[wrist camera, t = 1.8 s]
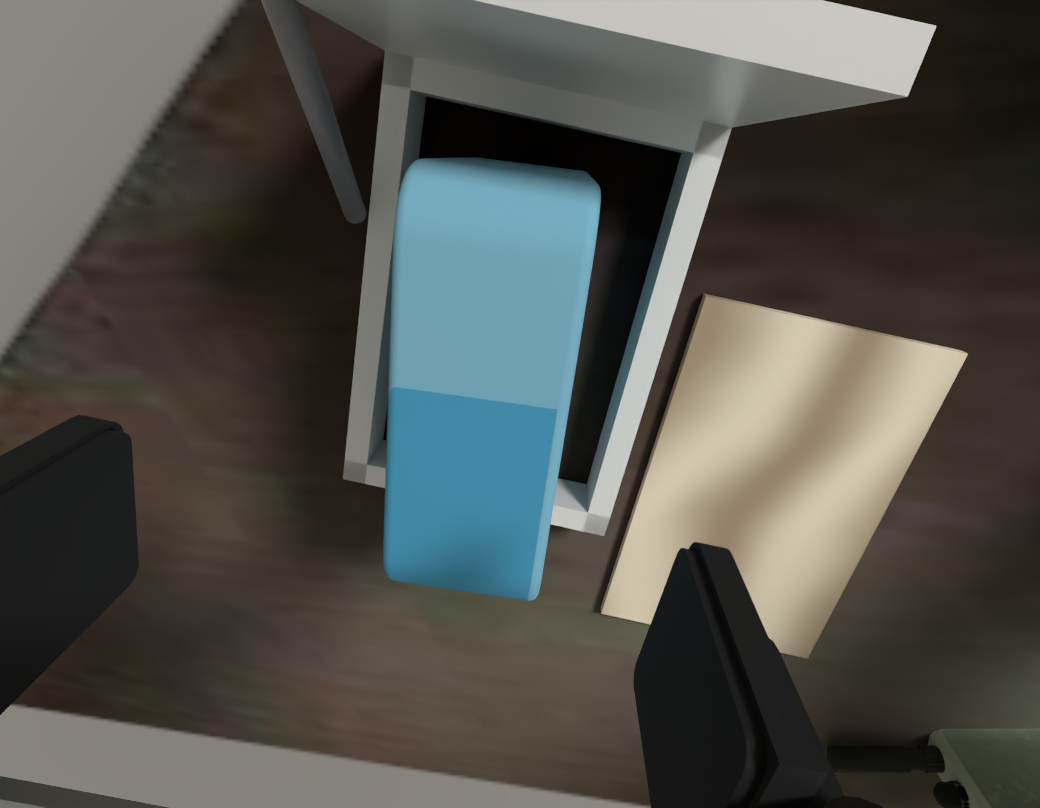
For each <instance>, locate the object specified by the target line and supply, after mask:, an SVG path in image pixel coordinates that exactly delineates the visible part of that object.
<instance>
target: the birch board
mask: <svg viewBox="0 0 1040 808" xmlns="http://www.w3.org/2000/svg"><path fill="white" fill-rule="evenodd" d="M967 355H968V354H967V353H965V352H963V351H961V350H957V349H953V348H948V347H944V346H939V345H934V344H930V343H925V342H921V341H916V340H912V339H907V338H903V337H898V336H894V335H889V334H885V333H880V332H876V331H871V330H866V329H862V328H857V327H853V326H848V325H844V324H839V323H835V322H830V321H826V320H821V319H817V318H812V317H807V316H803V315H798V314H794V313H789V312H785V311H780V310H776V309H771V308H767V307H762V306H758V305H753V304H749V303H744V302H739V301H735V300H730V299H726V298H721V297H717V296H712V295H708V294H703V297H702V300H701V303H700V306H699V309H698V312H697V315H696V318H695V321H694V324H693V327H692V330H691V333H690V336H689V339H688V342H687V345H686V349H685V352H684V355H683V358H682V361H681V364H680V367H679V370H678V373H677V376H676V379H675V382H674V385H673V388H672V391H671V394H670V397H669V400H668V403H667V406H666V409H665V413H664V416H663V419H662V422H661V425H660V428H659V431H658V434H657V437H656V440H655V443H654V446H653V449H652V452H651V455H650V458H649V461H648V464H647V467H646V470H645V473H644V477H643V480H642V483H641V486H640V489H639V492H638V495H637V498H636V501H635V504H634V507H633V510H632V513H631V516H630V519H629V522H628V525H627V528H626V531H625V534H624V538H623V541H622V544H621V547H620V550H619V553H618V556H617V559H616V562H615V565H614V568H613V571H612V574H611V577H610V580H609V583H608V586H607V589H606V592H605V595H604V598H603V602H602V605H601V614H605V615H610V616H614V617H619V618H623V619H628V620H633V621H637V622H642V623H646V624H651V622H652V619H653V617H654V614H655V611H656V609H657V606H658V603H659V601H660V598H661V595H662V593H663V590H664V587H665V585H666V582H667V579H668V576H669V574H670V571H671V568H672V566H673V563H674V560H675V558H676V555H677V553H678V551H679V550H680V549H681V548H686V549H689V547H690V546H691V545H692V543H694V542H699V543H704V544H709V545H713V546H718V547H723V548H727V549H729V550H730V552H731V553H732V555H733V558H734V560H735V562H736V565H737V567H738V569H739V571H740V574H741V576H742V578H743V581H744V583H745V585H746V587H747V590H748V592H749V594H750V596H751V599H752V601H753V603H754V606H755V608H756V610H757V612H758V615H759V617H760V619H761V622H762V624H763V626H764V628H765V631H766V633H767V635H768V638H770V639H771V640H772V641H773V642H774V643H775V645H776V646H777V648H778V650H779V652H780V653H784V654H789V655H794V656H798V657H803V658H807V659H808V657H809V655H810V653H811V651H812V649H813V647H814V646H815V644H816V642H817V640H818V638H819V636H820V634H821V632H822V630H823V628H824V627H825V625H826V623H827V621H828V619H829V617H830V615H831V613H832V611H833V609H834V608H835V606H836V604H837V602H838V600H839V598H840V596H841V594H842V592H843V591H844V589H845V587H846V585H847V583H848V581H849V579H850V577H851V575H852V573H853V572H854V570H855V568H856V566H857V564H858V562H859V560H860V558H861V556H862V554H863V553H864V551H865V549H866V547H867V545H868V543H869V541H870V539H871V537H872V535H873V534H874V532H875V530H876V528H877V526H878V524H879V522H880V520H881V518H882V516H883V515H884V513H885V511H886V509H887V507H888V505H889V503H890V501H891V499H892V497H893V496H894V494H895V492H896V490H897V488H898V486H899V484H900V482H901V480H902V479H903V477H904V475H905V473H906V471H907V469H908V467H909V465H910V463H911V461H912V460H913V458H914V456H915V454H916V452H917V450H918V448H919V446H920V444H921V442H922V441H923V439H924V437H925V435H926V433H927V431H928V429H929V427H930V425H931V423H932V422H933V420H934V418H935V416H936V414H937V412H938V410H939V408H940V406H941V404H942V403H943V401H944V399H945V397H946V395H947V393H948V391H949V389H950V387H951V385H952V384H953V382H954V380H955V378H956V376H957V374H958V372H959V370H960V368H961V367H962V365H963V363H964V361H965V359H966V357H967Z"/></svg>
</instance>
